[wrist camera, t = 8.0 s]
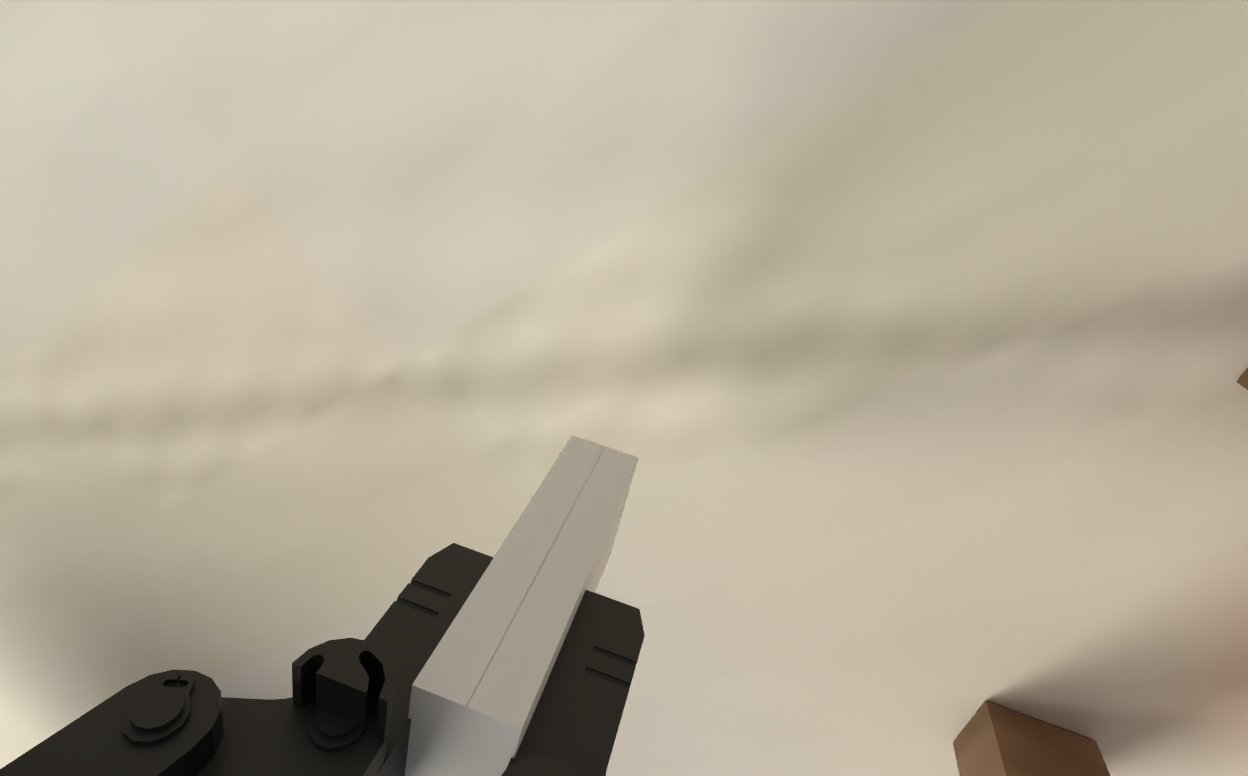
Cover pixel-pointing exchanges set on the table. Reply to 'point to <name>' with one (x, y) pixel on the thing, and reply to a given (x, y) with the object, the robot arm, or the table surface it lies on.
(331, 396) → the table surface
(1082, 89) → the table surface
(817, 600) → the table surface
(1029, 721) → the bridge
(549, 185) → the table surface
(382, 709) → the robot arm
